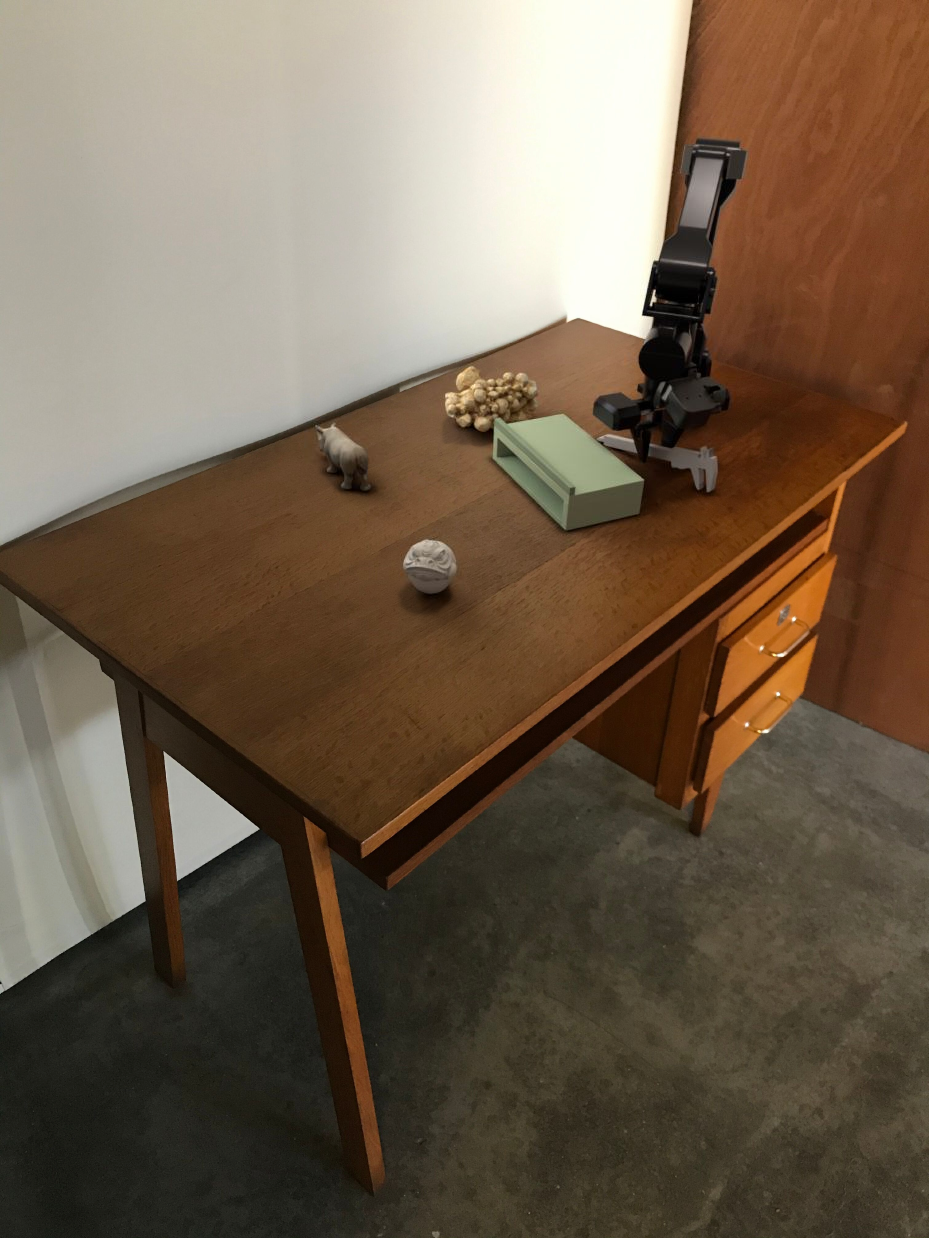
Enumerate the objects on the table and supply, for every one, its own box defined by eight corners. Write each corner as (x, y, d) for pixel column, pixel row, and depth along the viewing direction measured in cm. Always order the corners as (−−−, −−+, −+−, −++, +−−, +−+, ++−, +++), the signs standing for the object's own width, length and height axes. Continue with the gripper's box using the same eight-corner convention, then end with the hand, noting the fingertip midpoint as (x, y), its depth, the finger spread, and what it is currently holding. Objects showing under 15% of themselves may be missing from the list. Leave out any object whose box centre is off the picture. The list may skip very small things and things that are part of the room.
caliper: (714, 492, 136) (722, 450, 132) (709, 495, 135) (717, 453, 131) (601, 439, 148) (605, 399, 144) (596, 441, 147) (600, 401, 143)
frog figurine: (396, 604, 113) (395, 552, 109) (412, 570, 118) (411, 520, 114) (449, 612, 112) (450, 560, 108) (462, 577, 118) (463, 527, 113)
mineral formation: (545, 420, 152) (491, 450, 141) (472, 410, 159) (416, 439, 148) (543, 367, 148) (488, 394, 138) (469, 360, 155) (410, 385, 145)
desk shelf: (560, 445, 146) (564, 405, 142) (639, 514, 130) (645, 471, 127) (492, 458, 142) (494, 418, 138) (565, 531, 127) (570, 487, 123)
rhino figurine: (333, 447, 143) (331, 408, 140) (376, 489, 134) (375, 449, 130) (307, 453, 141) (304, 414, 138) (348, 496, 132) (346, 455, 128)
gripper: (643, 387, 122) (627, 498, 132) (766, 365, 129) (743, 473, 138) (596, 354, 130) (585, 461, 140) (714, 335, 137) (695, 439, 146)
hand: (653, 459), depth 141 cm, fingers open, 3 cm apart
